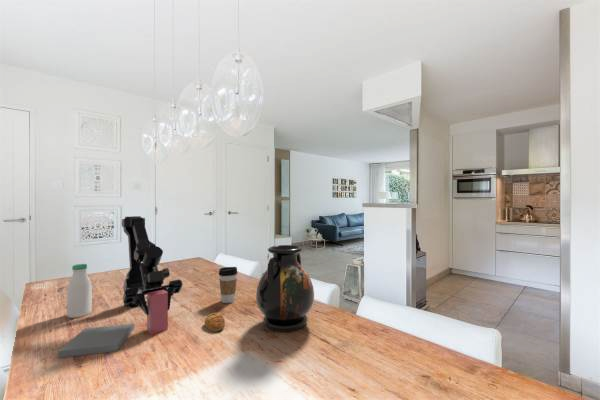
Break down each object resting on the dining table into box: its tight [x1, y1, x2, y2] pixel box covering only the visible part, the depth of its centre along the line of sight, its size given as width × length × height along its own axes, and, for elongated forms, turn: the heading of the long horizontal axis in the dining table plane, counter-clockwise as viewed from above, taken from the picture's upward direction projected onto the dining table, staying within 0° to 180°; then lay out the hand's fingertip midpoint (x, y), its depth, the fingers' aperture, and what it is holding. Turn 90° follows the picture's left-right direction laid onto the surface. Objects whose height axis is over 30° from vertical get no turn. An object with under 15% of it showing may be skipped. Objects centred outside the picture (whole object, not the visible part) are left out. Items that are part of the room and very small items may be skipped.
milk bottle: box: [66, 263, 93, 319], centre depth 111 cm, size 8×8×20 cm
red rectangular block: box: [146, 290, 169, 336], centre depth 97 cm, size 4×6×13 cm
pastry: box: [204, 312, 226, 332], centre depth 99 cm, size 9×7×4 cm
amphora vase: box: [255, 244, 315, 332], centre depth 102 cm, size 22×22×28 cm
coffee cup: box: [218, 266, 238, 304], centre depth 126 cm, size 8×8×15 cm
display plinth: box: [58, 323, 135, 359], centre depth 89 cm, size 15×15×2 cm
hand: (158, 312), depth 96 cm, fingers open, 6 cm apart
